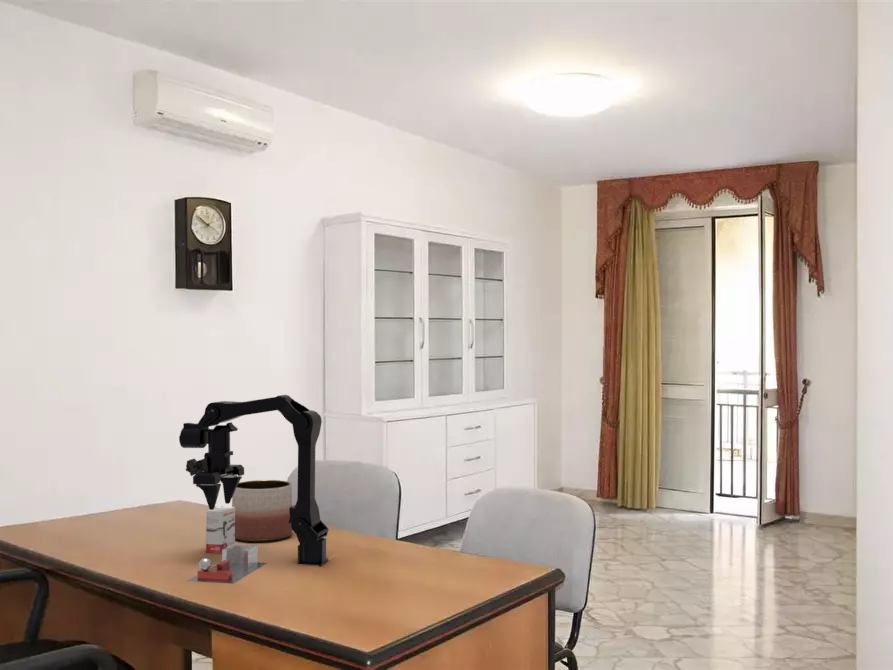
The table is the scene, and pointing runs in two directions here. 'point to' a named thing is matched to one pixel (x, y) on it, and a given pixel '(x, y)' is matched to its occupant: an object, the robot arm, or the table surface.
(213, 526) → the ink box
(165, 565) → the table surface
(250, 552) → the block
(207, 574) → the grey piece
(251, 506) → the planter
